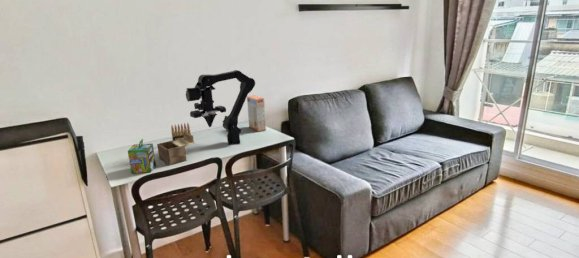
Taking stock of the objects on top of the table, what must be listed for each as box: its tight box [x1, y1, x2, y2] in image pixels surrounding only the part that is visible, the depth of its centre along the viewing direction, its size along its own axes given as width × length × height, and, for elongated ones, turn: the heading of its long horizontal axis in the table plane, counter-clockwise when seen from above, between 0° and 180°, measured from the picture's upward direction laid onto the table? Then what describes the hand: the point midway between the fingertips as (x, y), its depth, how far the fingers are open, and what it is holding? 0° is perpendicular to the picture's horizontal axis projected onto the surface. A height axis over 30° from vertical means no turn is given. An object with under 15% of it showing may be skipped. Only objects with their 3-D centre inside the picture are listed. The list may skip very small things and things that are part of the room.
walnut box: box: [156, 139, 187, 167], centre depth 174 cm, size 9×13×8 cm
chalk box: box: [127, 138, 157, 174], centre depth 162 cm, size 9×9×15 cm
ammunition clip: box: [170, 122, 192, 141], centre depth 198 cm, size 11×2×12 cm, turn 116°
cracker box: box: [246, 94, 267, 133], centre depth 220 cm, size 14×6×21 cm, turn 30°
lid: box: [171, 132, 196, 147], centre depth 176 cm, size 8×11×4 cm
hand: (210, 127), depth 187 cm, fingers closed
